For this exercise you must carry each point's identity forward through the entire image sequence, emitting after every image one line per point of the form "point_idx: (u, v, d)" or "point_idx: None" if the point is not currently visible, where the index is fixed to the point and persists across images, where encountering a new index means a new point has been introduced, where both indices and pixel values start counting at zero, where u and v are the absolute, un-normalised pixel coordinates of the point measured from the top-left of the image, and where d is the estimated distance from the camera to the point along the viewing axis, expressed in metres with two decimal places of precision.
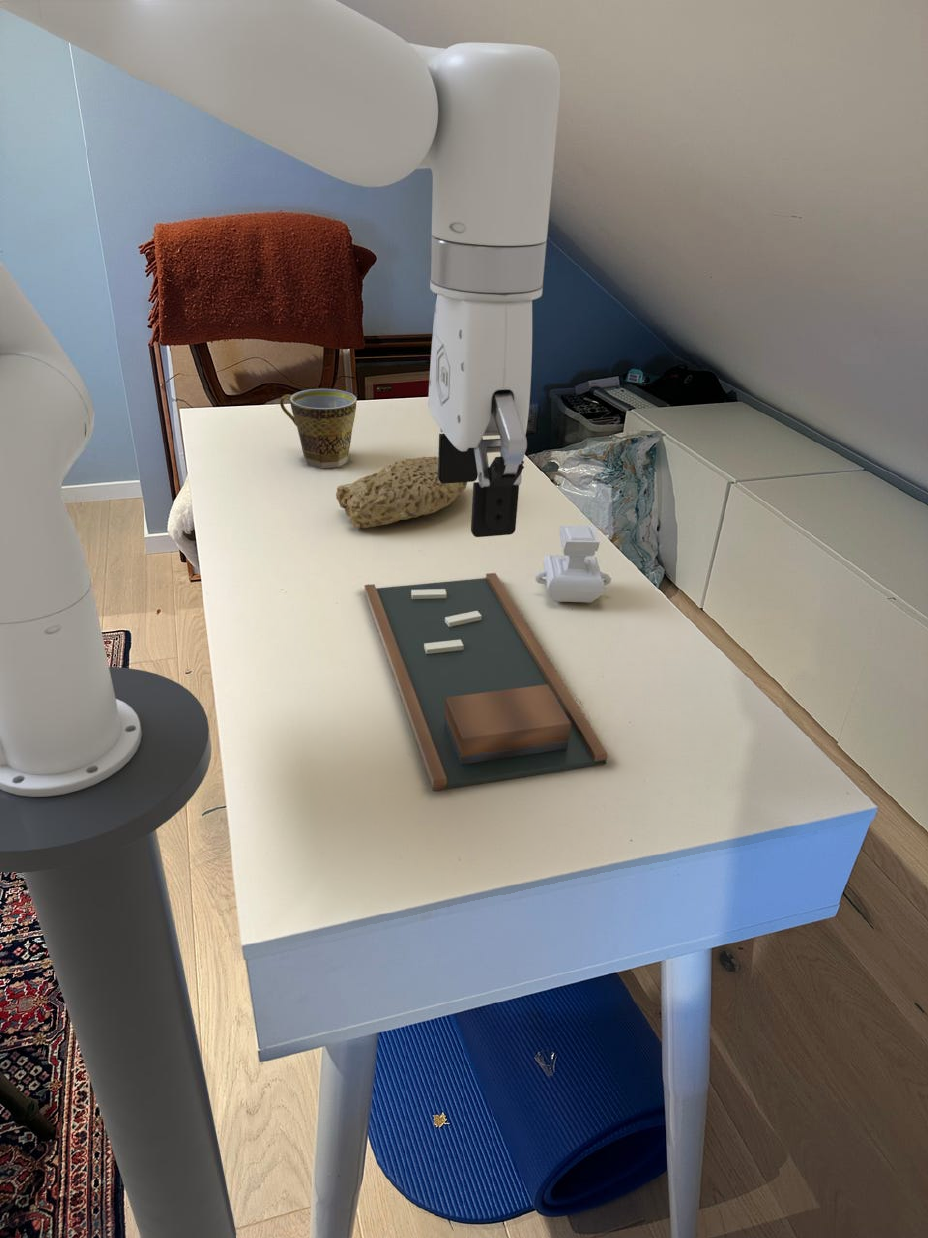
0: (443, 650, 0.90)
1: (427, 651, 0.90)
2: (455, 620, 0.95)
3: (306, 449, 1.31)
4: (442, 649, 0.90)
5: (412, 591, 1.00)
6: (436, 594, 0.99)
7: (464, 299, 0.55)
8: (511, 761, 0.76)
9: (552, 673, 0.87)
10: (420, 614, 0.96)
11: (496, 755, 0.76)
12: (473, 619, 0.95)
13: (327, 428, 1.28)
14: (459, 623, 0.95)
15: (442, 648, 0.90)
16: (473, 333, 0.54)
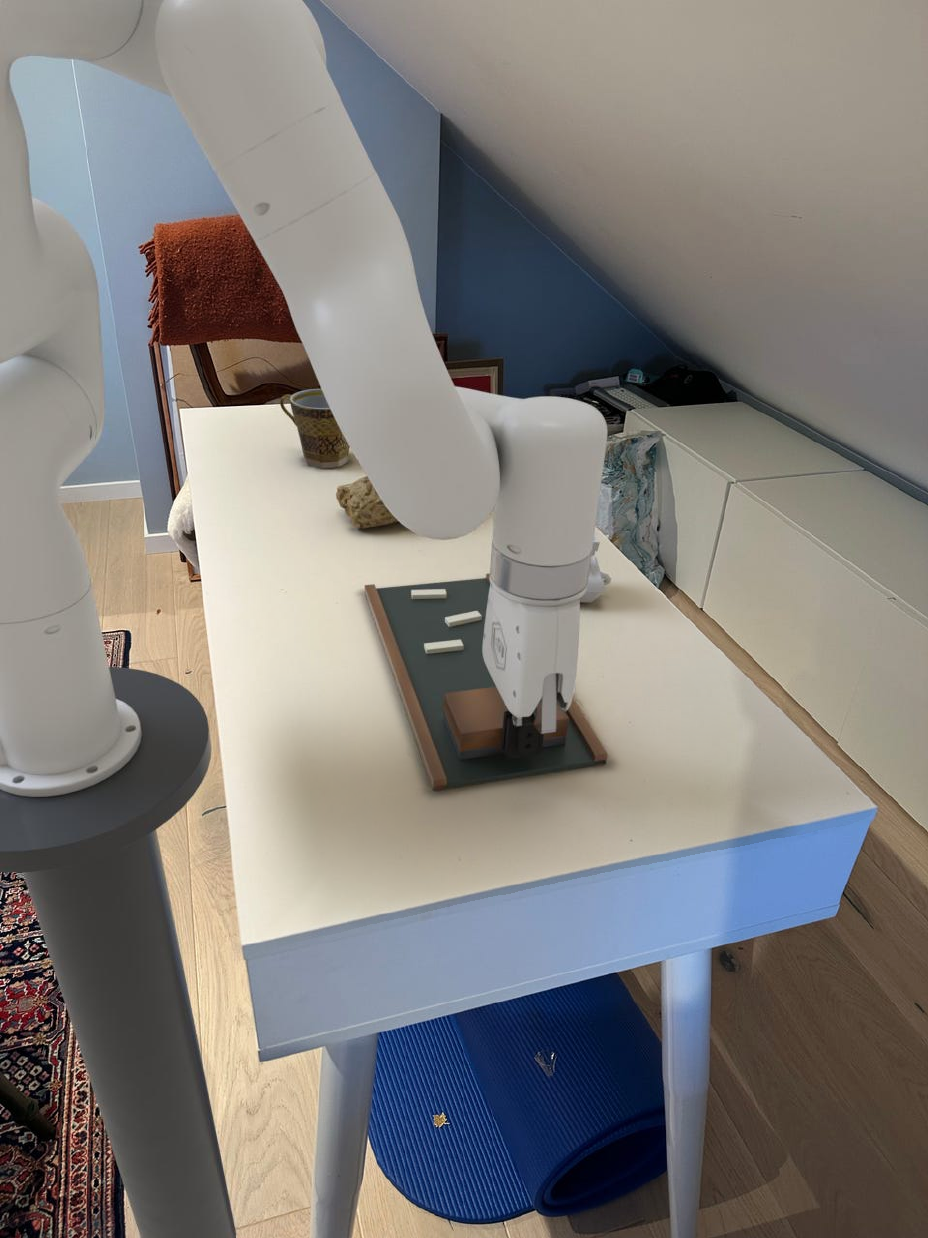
0: (443, 650, 0.90)
1: (427, 651, 0.90)
2: (455, 620, 0.95)
3: (306, 449, 1.31)
4: (442, 649, 0.90)
5: (412, 591, 1.00)
6: (436, 594, 0.99)
7: (521, 602, 0.63)
8: (511, 761, 0.76)
9: None
10: (420, 614, 0.96)
11: (494, 750, 0.76)
12: (473, 619, 0.95)
13: (327, 428, 1.28)
14: (459, 623, 0.95)
15: (442, 648, 0.90)
16: (530, 633, 0.63)
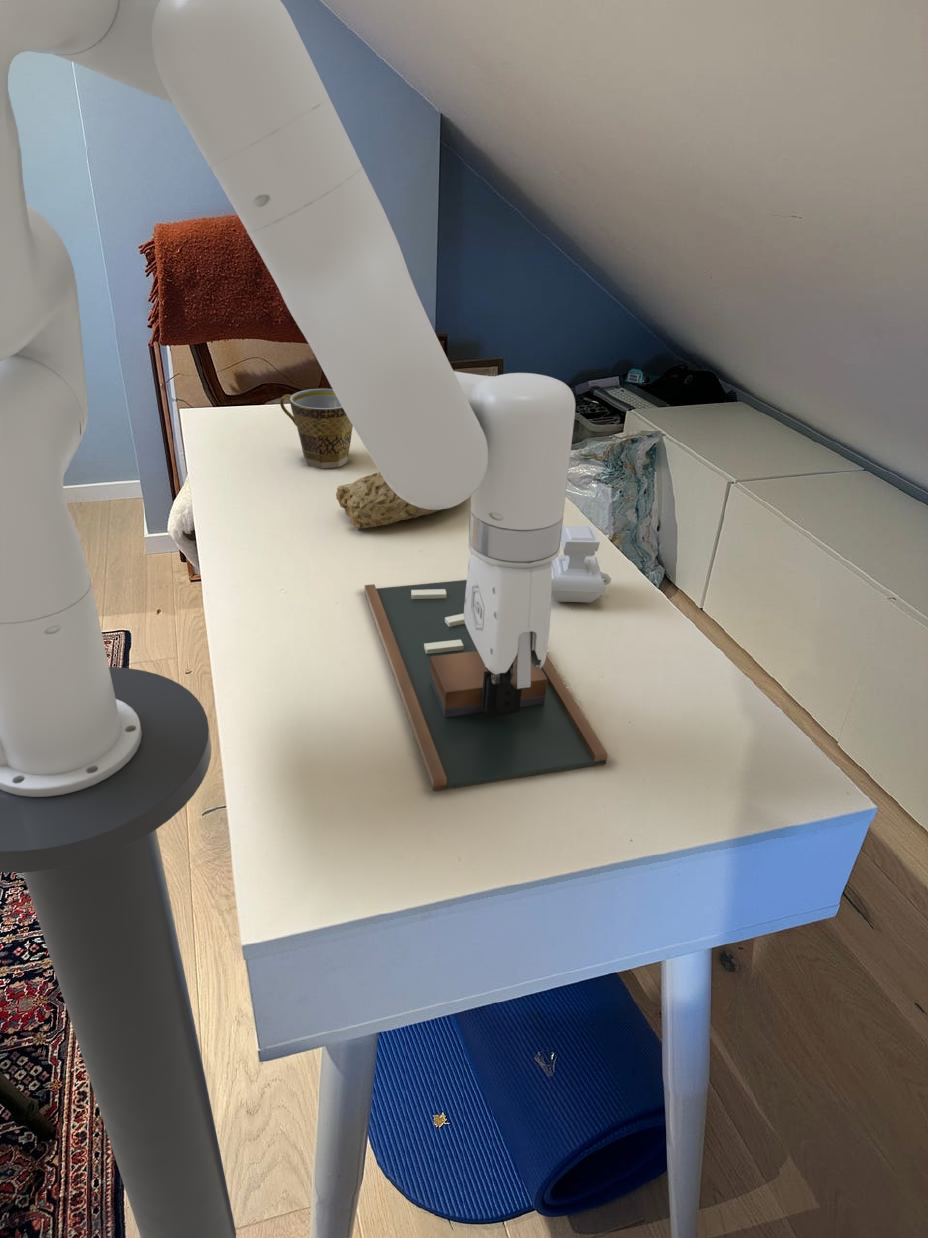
0: (443, 650, 0.90)
1: (427, 651, 0.90)
2: (455, 620, 0.95)
3: (306, 449, 1.31)
4: (442, 649, 0.90)
5: (412, 591, 1.00)
6: (436, 594, 0.99)
7: (497, 565, 0.68)
8: (511, 761, 0.76)
9: (552, 673, 0.87)
10: (420, 614, 0.96)
11: (477, 708, 0.81)
12: None
13: (327, 428, 1.28)
14: (459, 623, 0.95)
15: (442, 648, 0.90)
16: (505, 593, 0.68)
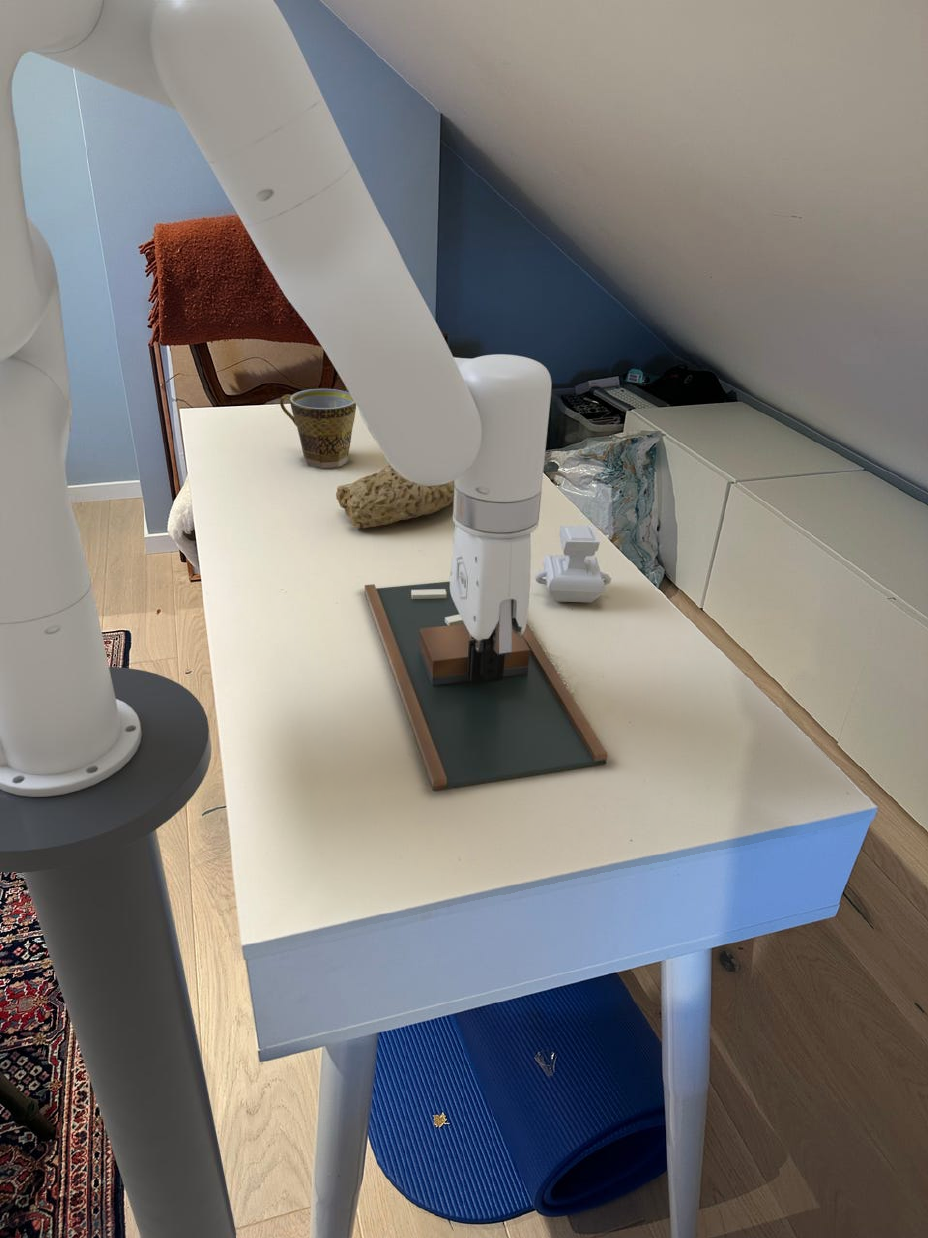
0: None
1: None
2: (455, 620, 0.95)
3: (306, 449, 1.31)
4: None
5: (412, 591, 1.00)
6: (436, 594, 0.99)
7: (479, 536, 0.72)
8: (511, 761, 0.76)
9: (552, 673, 0.87)
10: (420, 614, 0.96)
11: (463, 677, 0.86)
12: None
13: (327, 428, 1.28)
14: (459, 623, 0.95)
15: None
16: (486, 562, 0.72)
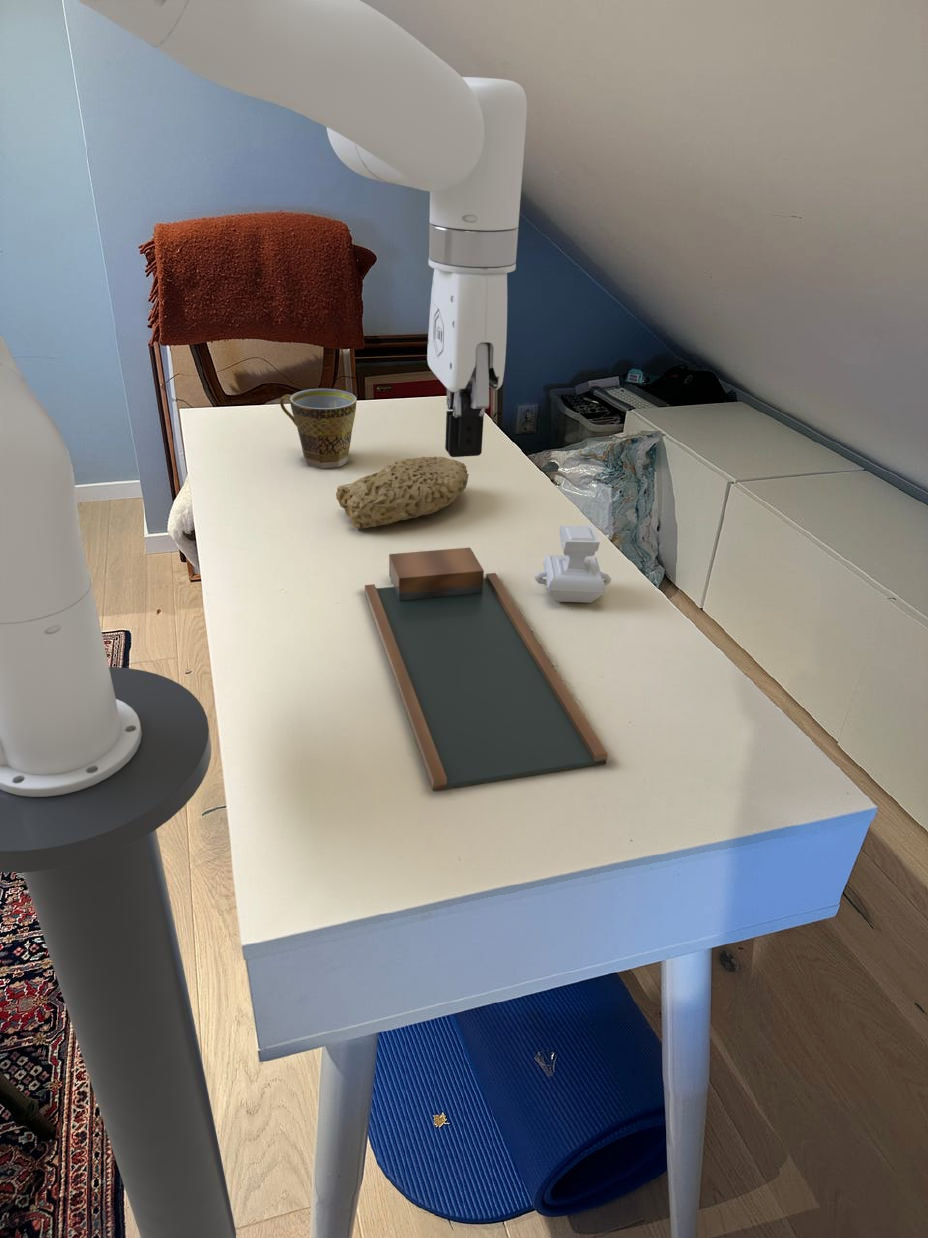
0: None
1: None
2: None
3: (306, 449, 1.31)
4: None
5: None
6: None
7: (454, 272, 0.71)
8: (511, 761, 0.76)
9: (552, 673, 0.87)
10: (420, 614, 0.96)
11: (426, 594, 0.99)
12: None
13: (327, 428, 1.28)
14: None
15: None
16: (462, 297, 0.71)
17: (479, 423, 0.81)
